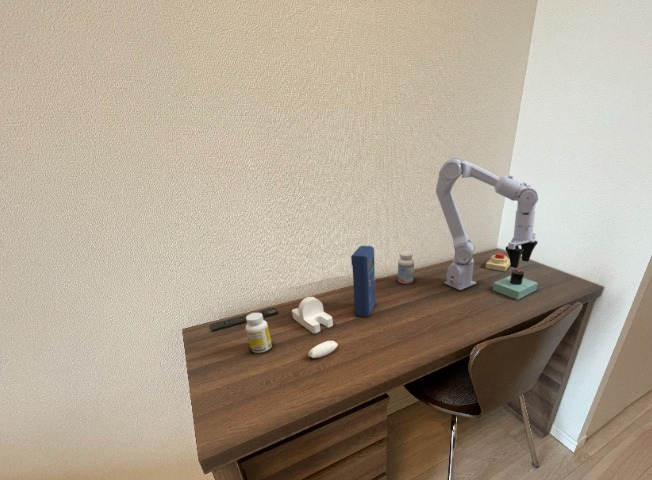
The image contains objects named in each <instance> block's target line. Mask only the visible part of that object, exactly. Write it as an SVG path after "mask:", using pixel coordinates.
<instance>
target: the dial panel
mask: <svg viewBox="0 0 652 480" xmlns="http://www.w3.org/2000/svg"><path fill="white" fill-rule="evenodd" d="M510 279H511V275H509V276H506V277H504V278H501V279H499V280H497V281H494V282H493V285H492V291H493V292H496V293H498V294H502V295H504V296H506V297H509V298H512V299H514V300H516V301H518V300H520V299H522V298H524V297H526V296H528V295H530V294H532V293H534V292H535V291H536V292H537V289H538V286H539V282H537V281H534V280H531V279H528V278H526V277H523V280H522V284H520V285H515V284H512V283H510Z"/></svg>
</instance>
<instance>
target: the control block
mask: <svg viewBox="0 0 652 480" xmlns="http://www.w3.org/2000/svg"><path fill="white" fill-rule="evenodd" d="M495 255H496V254H493V255H491V257H490V259H488V261H487V262H485V269H488V270H489V269H490V270H494V271H501V272H506V271H507V269H508V268H509V267H511V264H510V259H509V256H507V255H505V256H504V259H497V258H495Z"/></svg>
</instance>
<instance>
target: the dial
mask: <svg viewBox="0 0 652 480" xmlns="http://www.w3.org/2000/svg"><path fill="white" fill-rule="evenodd" d="M524 275H525V272H524V271H523V270H522V269H513V270H512V271H511V274H510V276H511V279H510V283H512V284H515V285H520V284H522V280H523V278H524Z"/></svg>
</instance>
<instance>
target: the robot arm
mask: <svg viewBox="0 0 652 480" xmlns="http://www.w3.org/2000/svg"><path fill="white" fill-rule="evenodd" d="M460 177H461V179H467V178H474V179H476V180H477V181H480V182H483V183H485V184H487V185H490V186H492V187H493V188H494V192H495V193H496V194H498V195H500V196H502V197H504V198H506V199H508V200H510V201H513V202H514V201H516V202H517V207H516V210H515V217H514V218H515V219H514V230H513V237H512V239H511V240H510V241H509V242H508V245H507V246H505V251H506V253H507V255H508V259H510V268H514V269H517V268H518V267H519V264H520V260H521V261H522V262H526V263H528V262H529V261H530V258H531V256H532V254H533V251H534V250H535V247H536V246H537V245H538V243H539V241H538V240H536V233H534V225H535V217H536V216H535V215H536V204H537V203H538V201H539V197H538V192H537V191H536V189H535V188H534V187H533V186H532V185H530V184H528V183H527V182H525V181H524V182H521V181H519V180H517V179H515V178H514V176H513V175H511V174H509V175H506V174H505V175H501V176H498V175H496V174H494V173H493V172H491V171H489V170H486V169H485V168H483V167H481V166H479V165H477V164H475V163H473V162H470V161H467V160H465V159H464V160H462V159H461V158H459V157H452V158H451V159H449V160H446V161H445V162H444V163H443V165H442V166H441V168H440V170H439V172H438V177H437V182H436V188H435V194H436V197H437V200H438V202H439V206H440V208H441V210H442V213H443V216H444V218H445V222H446V224H447V227H448V230H449V232H450V235H451V238H452V242H453V249H454V258H453V261H452V263H451V264H449V265H448V267H447V269H446V279H445V281H444V282H443V284H445V285H447V286H449V287H452V288H454V289H456V290H458V291H462V290H464V289H467V288H469V287H472V286H474V285H477V281H474V280H473V275H474V267H475V265H474V264H475V259H474V252H475V248H476V247H475V244H474V243H473V241H472V240H470V238H469V235H468V234H467V232H466V229H465V226H464V224H463V220H462V217H461V215H460V212H459V209H458V206H457V204H456V201H455V197H454V195H453V192H452V190H453V188H454V186H455V185H456V184H455V183H456V181H458V179H459V178H460ZM519 246H520V247H519Z"/></svg>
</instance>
